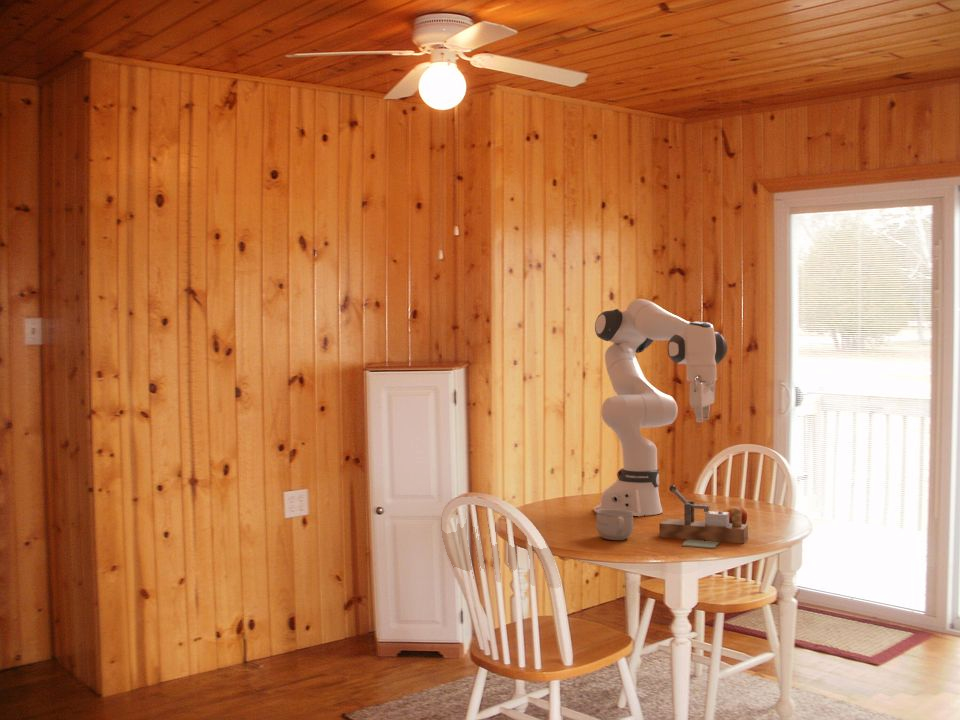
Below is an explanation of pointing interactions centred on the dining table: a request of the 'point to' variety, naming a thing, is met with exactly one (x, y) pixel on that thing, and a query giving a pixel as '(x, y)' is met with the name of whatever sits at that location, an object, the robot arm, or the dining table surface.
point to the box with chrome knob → (717, 518)
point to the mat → (700, 543)
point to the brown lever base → (704, 528)
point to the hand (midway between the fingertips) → (702, 421)
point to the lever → (680, 496)
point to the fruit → (743, 517)
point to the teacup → (614, 523)
